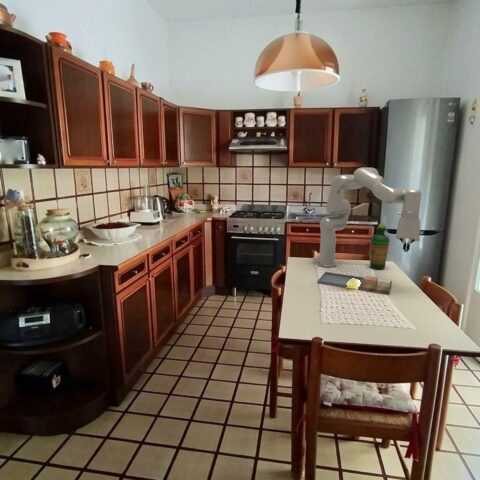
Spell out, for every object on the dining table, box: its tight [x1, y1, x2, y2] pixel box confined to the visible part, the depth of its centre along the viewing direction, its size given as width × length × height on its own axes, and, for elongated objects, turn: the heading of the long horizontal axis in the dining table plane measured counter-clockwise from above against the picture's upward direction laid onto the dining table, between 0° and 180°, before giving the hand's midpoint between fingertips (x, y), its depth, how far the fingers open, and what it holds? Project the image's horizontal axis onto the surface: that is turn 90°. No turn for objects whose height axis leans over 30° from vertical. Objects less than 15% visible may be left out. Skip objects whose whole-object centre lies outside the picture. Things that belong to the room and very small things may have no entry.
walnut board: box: [359, 276, 393, 296], centre depth 180 cm, size 14×18×2 cm
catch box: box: [316, 271, 365, 291], centre depth 188 cm, size 22×18×2 cm
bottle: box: [369, 223, 390, 271], centre depth 212 cm, size 11×11×28 cm
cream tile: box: [377, 277, 392, 287], centre depth 178 cm, size 6×6×2 cm
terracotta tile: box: [364, 275, 378, 285], centre depth 181 cm, size 6×6×2 cm
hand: (405, 251), depth 171 cm, fingers closed
